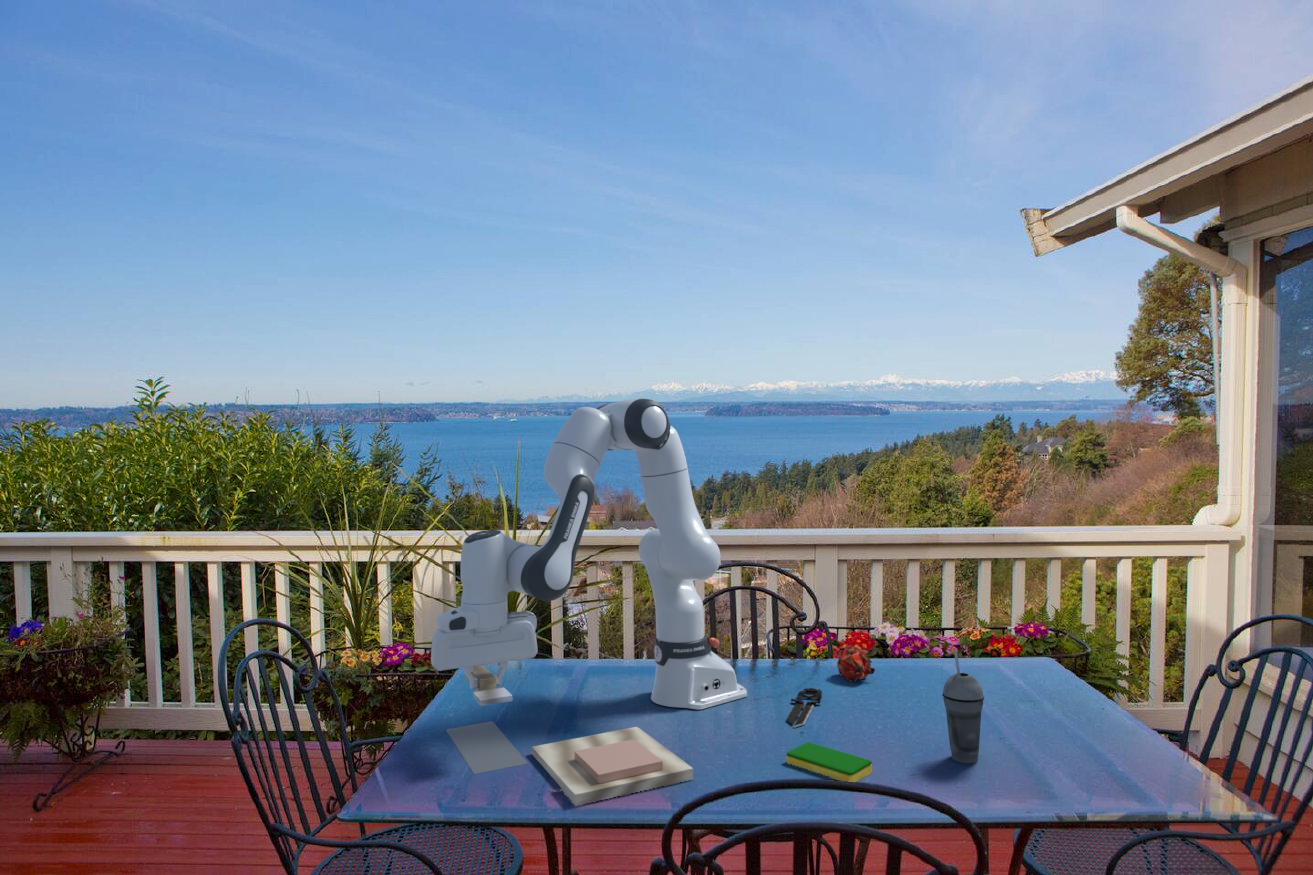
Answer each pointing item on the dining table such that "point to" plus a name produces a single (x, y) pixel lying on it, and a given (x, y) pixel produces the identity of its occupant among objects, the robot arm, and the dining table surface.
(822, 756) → the dish sponge
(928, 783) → the dining table surface
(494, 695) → the turner
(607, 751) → the tile
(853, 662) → the dragon fruit
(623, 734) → the board
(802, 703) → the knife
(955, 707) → the beverage cup
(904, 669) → the dining table surface
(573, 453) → the robot arm
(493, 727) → the mat
